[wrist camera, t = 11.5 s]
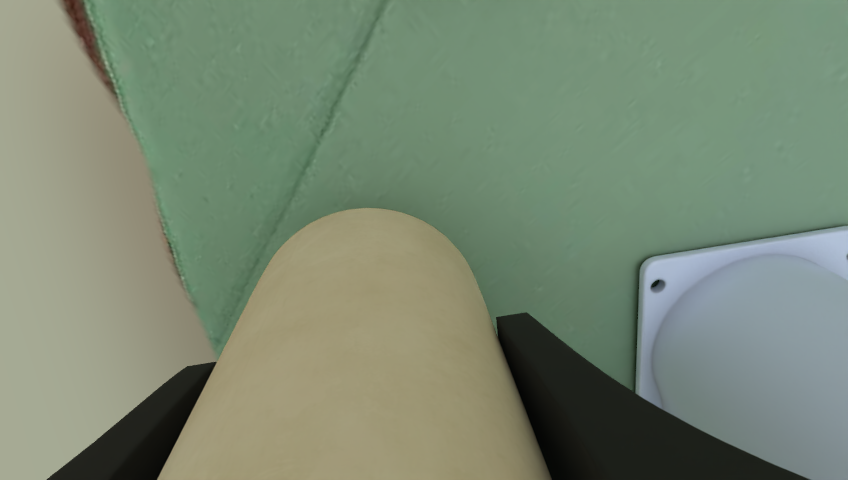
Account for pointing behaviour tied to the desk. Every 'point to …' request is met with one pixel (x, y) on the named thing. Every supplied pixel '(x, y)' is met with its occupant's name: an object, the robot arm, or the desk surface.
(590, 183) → the desk surface
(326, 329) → the candle
